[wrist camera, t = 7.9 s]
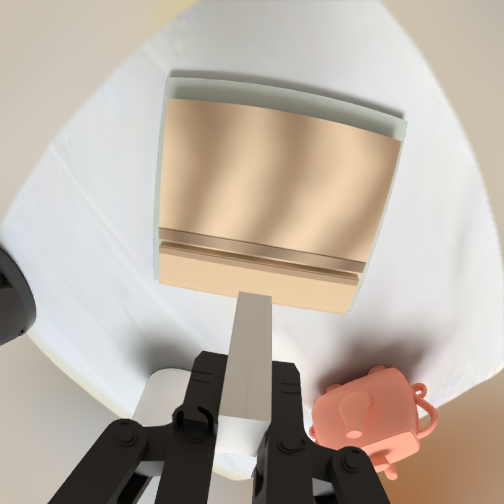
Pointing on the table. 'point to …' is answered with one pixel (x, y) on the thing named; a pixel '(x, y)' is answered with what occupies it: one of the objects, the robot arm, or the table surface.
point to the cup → (161, 397)
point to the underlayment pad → (255, 268)
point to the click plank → (273, 184)
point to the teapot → (373, 417)
